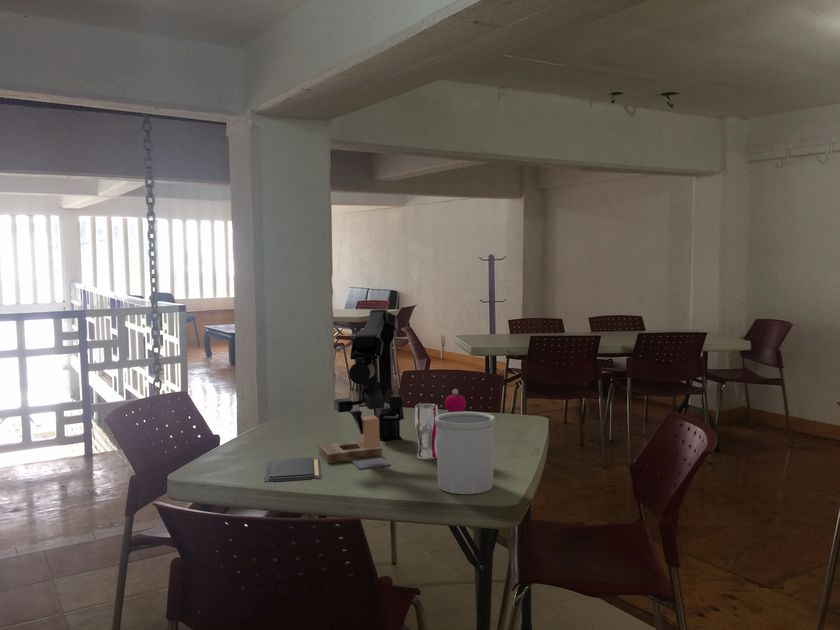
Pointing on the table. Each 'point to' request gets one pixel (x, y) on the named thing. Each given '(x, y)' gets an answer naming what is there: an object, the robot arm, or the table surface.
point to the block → (370, 432)
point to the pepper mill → (455, 402)
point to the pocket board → (347, 452)
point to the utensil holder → (465, 452)
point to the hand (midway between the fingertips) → (369, 433)
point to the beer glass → (426, 430)
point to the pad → (370, 462)
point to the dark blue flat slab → (293, 470)
